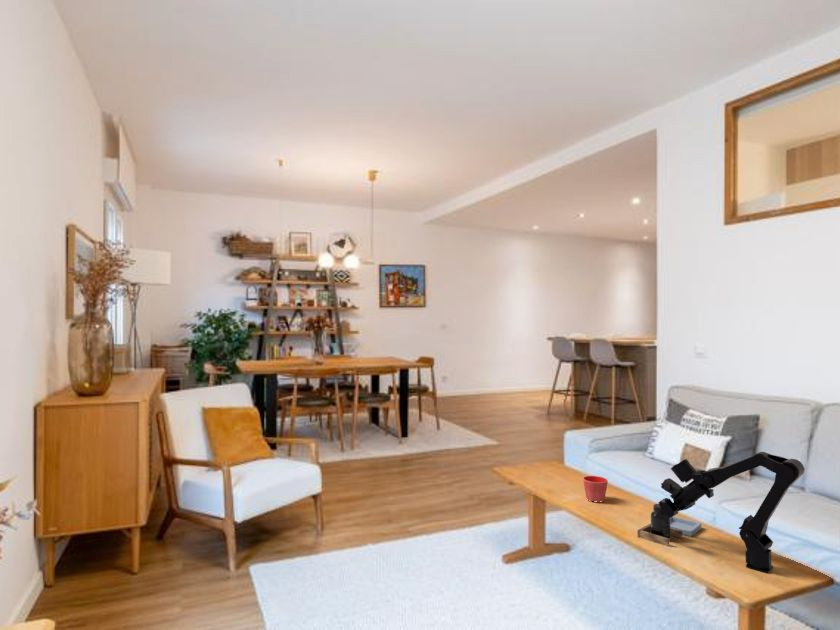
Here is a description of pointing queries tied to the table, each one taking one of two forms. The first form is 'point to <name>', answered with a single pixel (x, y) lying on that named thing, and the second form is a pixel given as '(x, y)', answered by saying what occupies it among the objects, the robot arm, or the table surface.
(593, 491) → the flower pot
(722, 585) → the table surface
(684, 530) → the tray
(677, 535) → the cradle
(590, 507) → the table surface
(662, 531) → the supplement bottle
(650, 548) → the table surface
